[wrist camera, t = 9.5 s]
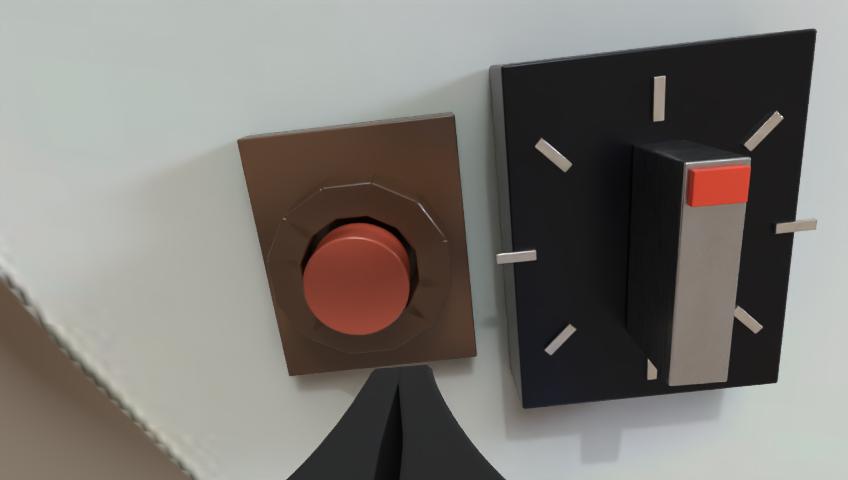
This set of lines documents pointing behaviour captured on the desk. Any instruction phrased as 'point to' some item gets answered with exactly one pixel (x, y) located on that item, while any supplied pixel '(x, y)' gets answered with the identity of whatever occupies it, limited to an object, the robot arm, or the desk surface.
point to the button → (357, 279)
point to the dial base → (611, 201)
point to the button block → (374, 204)
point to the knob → (685, 256)
